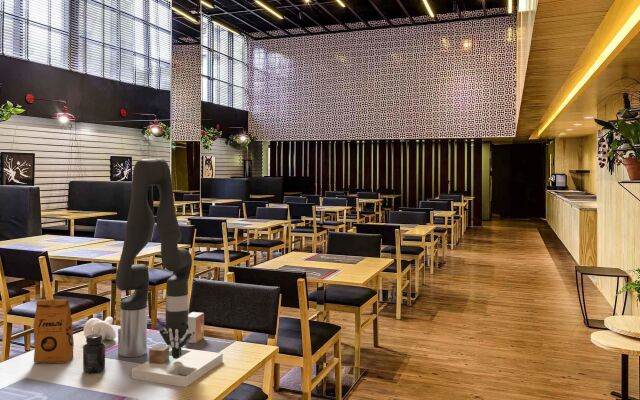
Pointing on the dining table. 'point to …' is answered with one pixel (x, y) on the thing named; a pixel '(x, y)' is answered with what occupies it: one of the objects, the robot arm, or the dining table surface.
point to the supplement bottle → (94, 354)
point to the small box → (196, 326)
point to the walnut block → (159, 354)
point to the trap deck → (179, 368)
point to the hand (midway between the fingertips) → (176, 357)
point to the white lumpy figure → (100, 328)
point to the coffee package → (53, 332)
